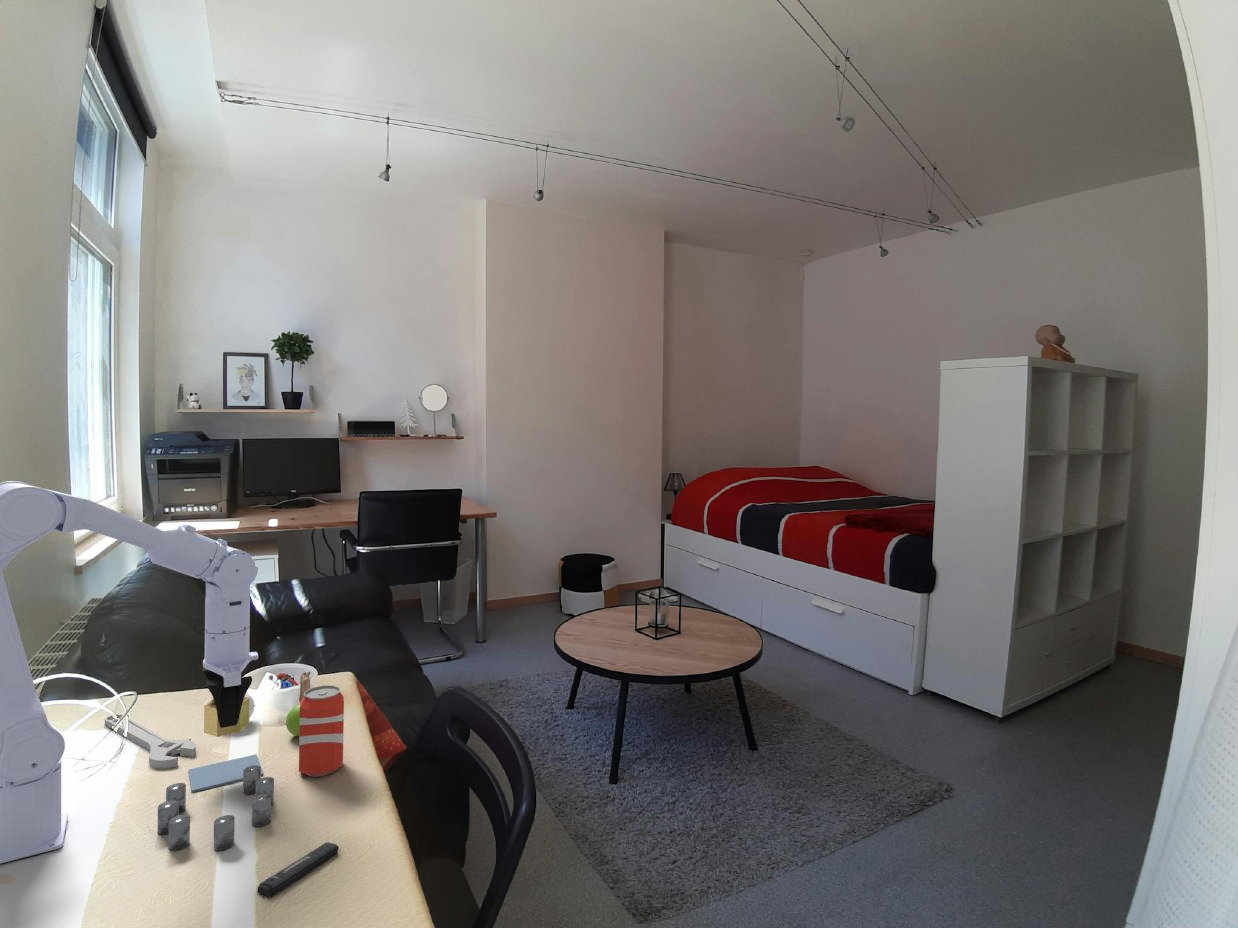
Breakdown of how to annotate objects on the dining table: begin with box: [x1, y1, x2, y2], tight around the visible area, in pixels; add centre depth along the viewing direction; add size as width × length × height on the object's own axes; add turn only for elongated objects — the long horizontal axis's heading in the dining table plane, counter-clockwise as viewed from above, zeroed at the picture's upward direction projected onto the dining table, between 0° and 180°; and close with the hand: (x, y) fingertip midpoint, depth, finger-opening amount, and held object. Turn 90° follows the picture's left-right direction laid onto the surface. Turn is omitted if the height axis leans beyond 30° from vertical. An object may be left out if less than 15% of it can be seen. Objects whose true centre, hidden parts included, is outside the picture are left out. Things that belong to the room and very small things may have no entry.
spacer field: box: [157, 765, 275, 852], centre depth 86 cm, size 13×14×3 cm
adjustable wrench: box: [104, 713, 197, 769], centre depth 108 cm, size 25×6×2 cm, turn 53°
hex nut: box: [203, 697, 250, 738], centre depth 98 cm, size 6×5×4 cm
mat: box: [188, 754, 264, 793], centre depth 98 cm, size 9×7×1 cm
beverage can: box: [298, 684, 345, 777], centre depth 100 cm, size 6×6×12 cm
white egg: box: [245, 692, 256, 719], centre depth 115 cm, size 8×6×6 cm
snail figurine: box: [285, 671, 312, 737], centre depth 111 cm, size 5×6×12 cm
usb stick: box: [257, 842, 340, 899], centre depth 77 cm, size 10×3×2 cm, turn 153°
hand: (226, 718), depth 98 cm, fingers closed on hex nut, 5 cm apart
